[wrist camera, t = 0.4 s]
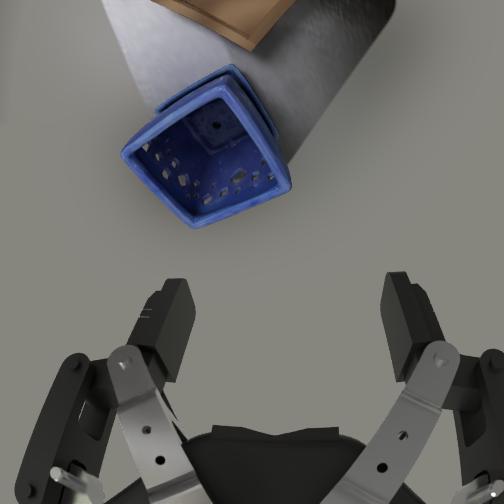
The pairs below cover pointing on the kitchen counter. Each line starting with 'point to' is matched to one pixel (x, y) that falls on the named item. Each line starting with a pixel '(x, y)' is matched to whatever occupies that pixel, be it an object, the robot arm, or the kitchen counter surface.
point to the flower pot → (210, 150)
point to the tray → (233, 16)
